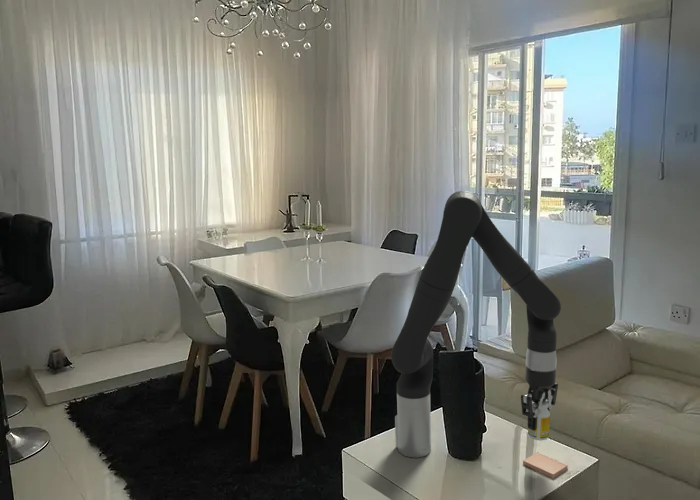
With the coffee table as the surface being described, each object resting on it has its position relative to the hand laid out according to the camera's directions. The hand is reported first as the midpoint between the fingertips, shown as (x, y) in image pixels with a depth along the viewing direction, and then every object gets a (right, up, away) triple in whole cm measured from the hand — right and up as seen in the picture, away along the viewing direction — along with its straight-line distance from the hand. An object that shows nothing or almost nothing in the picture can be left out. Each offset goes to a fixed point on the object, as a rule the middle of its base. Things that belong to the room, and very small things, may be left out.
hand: (538, 425), depth 152 cm
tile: (-1, -9, +3) cm, 10 cm away
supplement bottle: (0, -3, +1) cm, 3 cm away
